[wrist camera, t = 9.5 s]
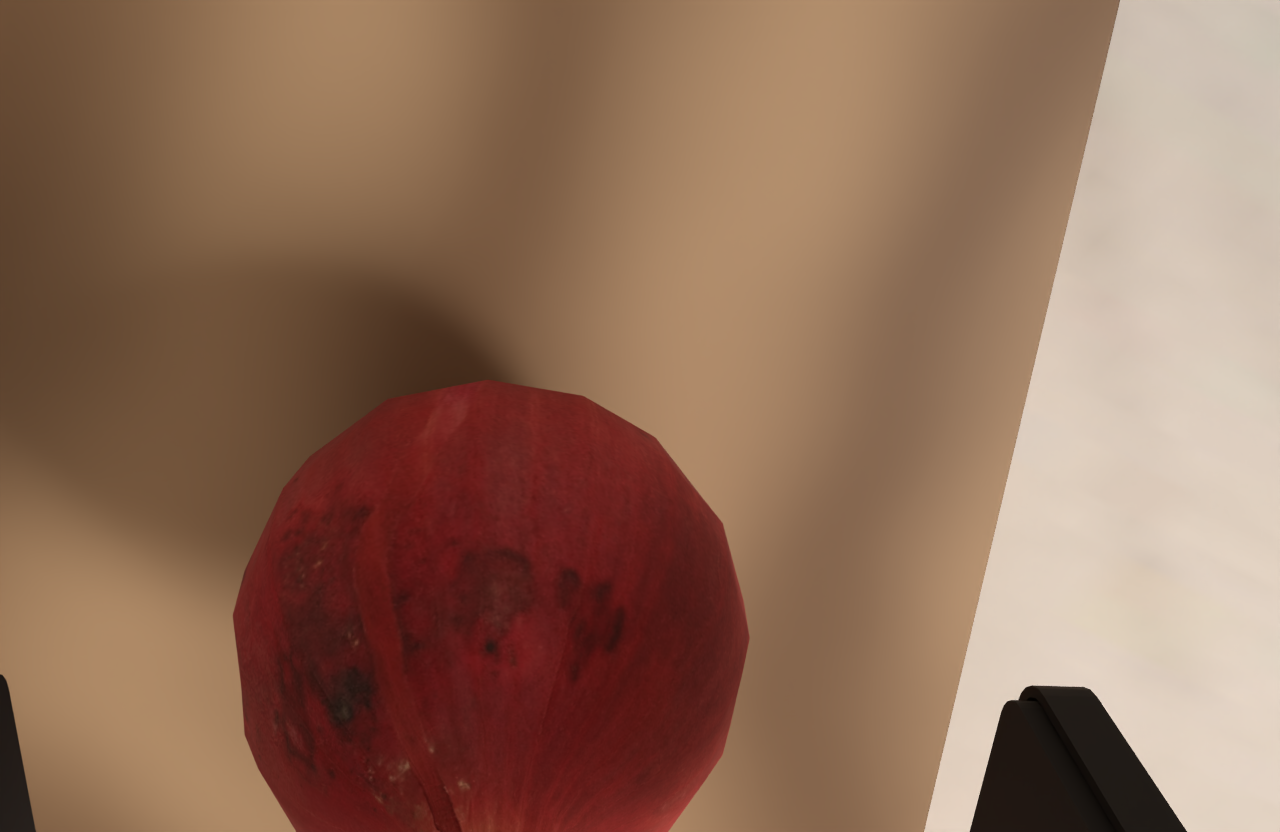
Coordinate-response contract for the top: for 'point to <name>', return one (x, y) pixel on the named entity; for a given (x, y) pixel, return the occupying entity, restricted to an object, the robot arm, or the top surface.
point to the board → (521, 335)
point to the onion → (489, 623)
